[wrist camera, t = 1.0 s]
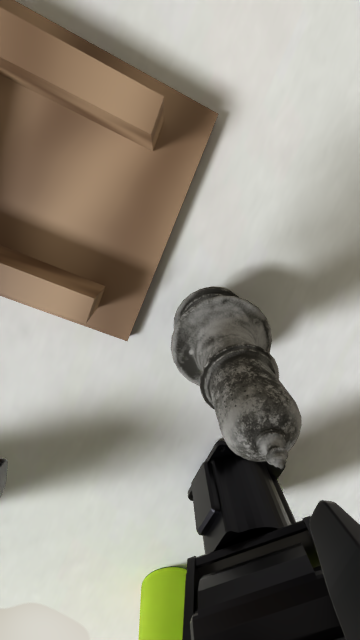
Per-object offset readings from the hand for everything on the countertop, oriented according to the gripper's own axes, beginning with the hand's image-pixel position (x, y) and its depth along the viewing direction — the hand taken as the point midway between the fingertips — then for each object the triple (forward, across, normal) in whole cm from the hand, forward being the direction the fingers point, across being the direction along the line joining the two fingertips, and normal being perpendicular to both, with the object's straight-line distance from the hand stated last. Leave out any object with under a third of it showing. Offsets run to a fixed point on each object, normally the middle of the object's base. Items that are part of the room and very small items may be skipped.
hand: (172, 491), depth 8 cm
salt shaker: (+12, -3, -1) cm, 13 cm away
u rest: (+12, +9, -8) cm, 17 cm away
